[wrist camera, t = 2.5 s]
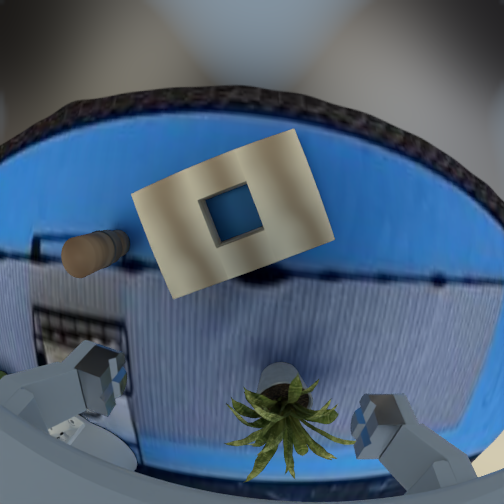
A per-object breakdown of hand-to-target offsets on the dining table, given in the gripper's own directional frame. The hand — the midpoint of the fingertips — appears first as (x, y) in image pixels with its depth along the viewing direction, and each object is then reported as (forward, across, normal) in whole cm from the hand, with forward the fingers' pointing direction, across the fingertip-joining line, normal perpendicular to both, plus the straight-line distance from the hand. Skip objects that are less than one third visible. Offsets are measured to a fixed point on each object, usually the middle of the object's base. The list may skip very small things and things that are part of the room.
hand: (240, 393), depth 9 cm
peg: (+26, -18, -4) cm, 32 cm away
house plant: (+26, +6, -18) cm, 32 cm away
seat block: (+27, -4, +1) cm, 27 cm away
